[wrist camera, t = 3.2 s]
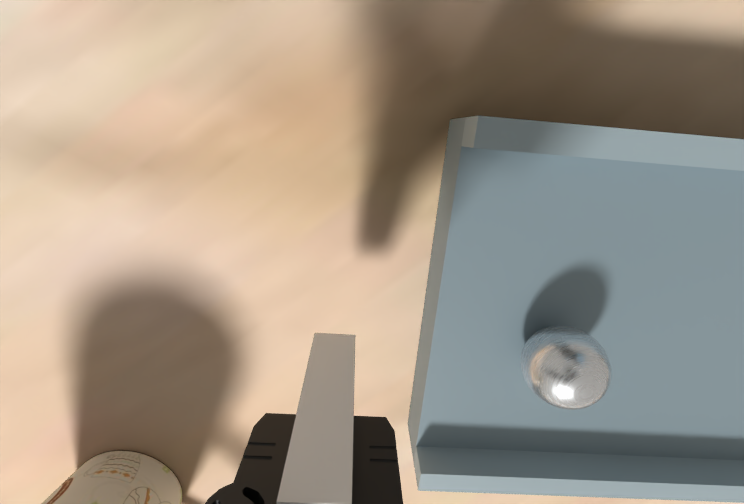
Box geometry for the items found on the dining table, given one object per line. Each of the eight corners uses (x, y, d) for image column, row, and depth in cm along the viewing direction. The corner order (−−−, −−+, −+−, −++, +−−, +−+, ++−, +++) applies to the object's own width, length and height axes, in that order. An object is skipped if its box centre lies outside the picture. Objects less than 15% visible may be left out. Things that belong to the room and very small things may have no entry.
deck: (449, 119, 16) (478, 115, 12) (1010, 169, 17) (1198, 179, 13) (407, 423, 20) (418, 490, 17) (842, 443, 22) (944, 509, 18)
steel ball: (516, 309, 16) (553, 352, 13) (589, 313, 16) (643, 357, 13) (502, 372, 17) (533, 427, 14) (570, 376, 17) (617, 431, 14)
